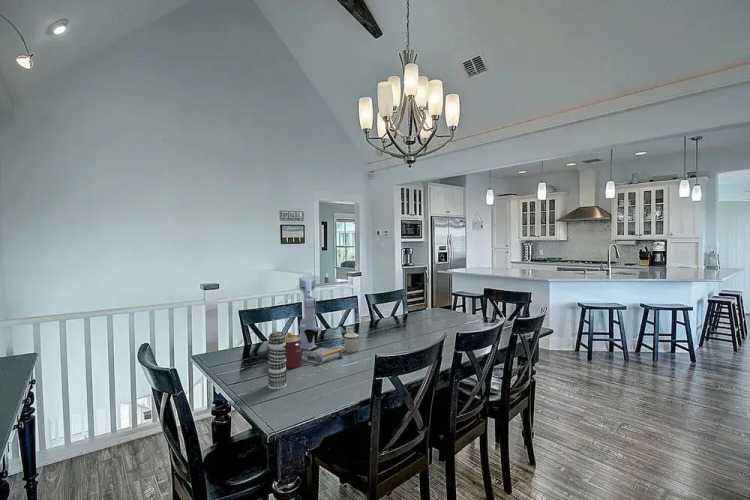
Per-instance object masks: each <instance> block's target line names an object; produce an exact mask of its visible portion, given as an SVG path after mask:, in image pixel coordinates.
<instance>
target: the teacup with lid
mask: <svg viewBox="0 0 750 500" xmlns="http://www.w3.org/2000/svg"><path fill="white" fill-rule="evenodd" d="M359 336H360V335H359V334H357V333H355V332H354V331H353V330H350V331H349V332H348V333H345V334H344V336H343V337H340V338H339V341H338V343H339V344H340V346H341V347H343V348H345V351H344V352H346V353H355V352H358V351H359ZM342 340H343V343H344V344H342Z"/></svg>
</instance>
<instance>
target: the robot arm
mask: <svg viewBox="0 0 750 500" xmlns="http://www.w3.org/2000/svg"><path fill="white" fill-rule="evenodd" d="M298 281H299V291H300V292H302V294H303V309H304V312H303V313H304V317H303V318H302V319H301V320H300V321H299V323H300V324H299V326H298V327H299V329H298V330H299V331H300V333H299V334H298V337H300V341H301V342H302V344H301V348H302V350H303V349H304V350H307V351H311V350H313V349H315V348H317V347H318V345H315V334H316V333H317V332H318V333H321V332H322V327H319V326H317V322H316V307H317V305H316V303H317V300H316V297H315V293H314V291H315V288H316V277H315V276H300V277H299V278H298Z"/></svg>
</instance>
